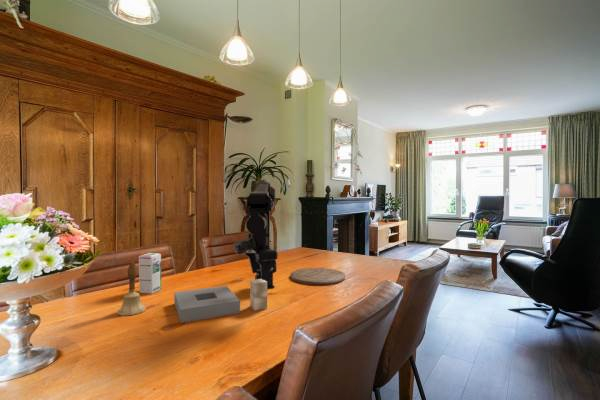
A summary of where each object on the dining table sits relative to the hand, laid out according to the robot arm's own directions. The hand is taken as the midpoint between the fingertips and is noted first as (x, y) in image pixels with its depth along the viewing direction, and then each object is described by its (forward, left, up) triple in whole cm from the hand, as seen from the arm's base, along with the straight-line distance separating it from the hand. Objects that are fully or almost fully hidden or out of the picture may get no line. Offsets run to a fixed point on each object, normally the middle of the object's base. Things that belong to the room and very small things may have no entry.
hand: (258, 276), depth 106 cm
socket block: (+16, -7, -10) cm, 20 cm away
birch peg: (0, 0, -11) cm, 11 cm away
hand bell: (+38, -15, -11) cm, 42 cm away
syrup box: (+32, -35, -11) cm, 49 cm away
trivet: (-37, -24, -11) cm, 45 cm away
